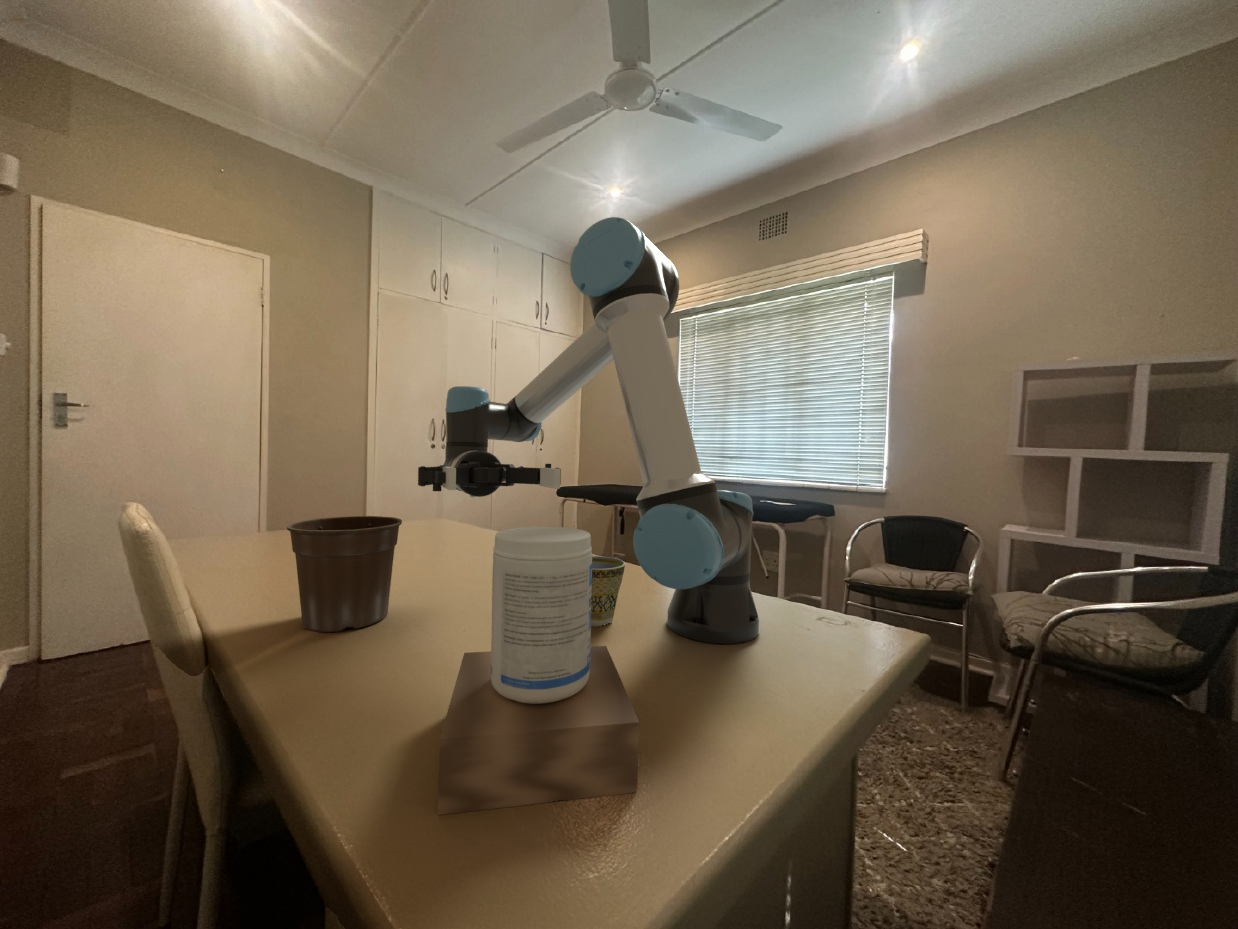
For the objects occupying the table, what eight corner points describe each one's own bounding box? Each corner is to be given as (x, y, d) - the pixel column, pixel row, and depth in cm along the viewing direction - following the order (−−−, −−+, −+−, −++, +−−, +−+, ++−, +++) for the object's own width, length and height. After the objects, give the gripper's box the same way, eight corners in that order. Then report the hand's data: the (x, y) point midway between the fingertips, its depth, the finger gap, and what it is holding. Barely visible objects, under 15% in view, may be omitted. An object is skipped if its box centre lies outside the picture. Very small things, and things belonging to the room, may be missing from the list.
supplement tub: (609, 685, 46) (614, 535, 46) (525, 721, 39) (531, 546, 39) (550, 653, 53) (554, 522, 53) (471, 679, 46) (475, 530, 46)
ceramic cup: (622, 631, 76) (624, 570, 76) (561, 629, 76) (563, 567, 76) (623, 606, 89) (625, 553, 89) (570, 604, 89) (572, 551, 89)
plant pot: (257, 635, 69) (259, 527, 69) (329, 602, 86) (331, 513, 85) (364, 641, 69) (366, 531, 68) (416, 606, 85) (419, 517, 85)
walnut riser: (604, 696, 56) (606, 645, 55) (636, 792, 40) (639, 722, 40) (462, 706, 52) (464, 652, 52) (437, 815, 37) (439, 739, 36)
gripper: (546, 493, 85) (595, 505, 67) (394, 496, 74) (401, 511, 55) (547, 452, 85) (596, 452, 67) (395, 449, 74) (402, 447, 55)
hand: (508, 478), depth 61 cm, fingers open, 13 cm apart
